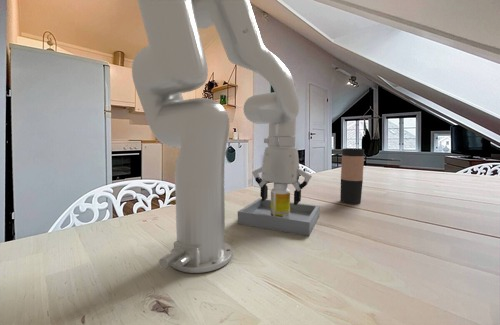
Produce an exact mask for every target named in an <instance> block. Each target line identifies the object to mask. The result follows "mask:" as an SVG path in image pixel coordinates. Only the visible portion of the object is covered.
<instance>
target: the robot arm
mask: <svg viewBox="0 0 500 325" xmlns="http://www.w3.org/2000/svg"><path fill="white" fill-rule="evenodd" d="M137 3H138V8H139V11H140V15H141V20H142V22H143V23H142V24H143V27H144V30H145V34H146V36H147V42H148V45H146V46H144V47H143V48H141V49H140V50H138V52H137V53H136V54H135V55H134V57H133V61H132V65H131V76H132V82H133V85H134V87H135V91H136V94H137V96H138V98H139V99H138V100H139V102H140V105H141V107H142V109H143V110H142V111H143V112H144V116H145V118H146V121H147V124H148V126H149V128H150V131H151V132H152V135H153V136H154V137H155V139H156V140H157V141H158V142H159V143H161V144H163V145H164V146H167V147H171V148H179V152H178V155H177V159H176V161H175V167H174V187H175V189H174V190H175V191H174V192H175V215H176V216H175V220H176V221H175V222H176V223H175V224H176V225H175V226H176V227H175V228H176V230H175V231H176V241H174V242H173V248H172V249H171V251H170V252H169V253H167V254H166V255H164V256H162V257H160V258H159V260H158V263H159V267H160V268H162V269H164V270H165V269H168V268H169V267H172V268H173V269H175V270H177V271H180V272H183V273H190V274H201V273H202V274H203V273H208V272H213V271H215V270H218V269H220V268H222V267H224V266H227V264H228V263H230V261H231V260H232V257H233V248H232V247H231V245H230V244H229V243H227V242H226V240H225V239H226V237H225V233H226V229H225V228H226V224H225V220H226V219H225V218H226V216H225V215H226V214H225V211H226V210H225V209H226V208H225V199H226V198H225V196H226V195H225V160H226V150H227V145H228V144H227V143H228V140H229V133H230V118H229V117H230V116H229V115H228V112H227V110H226V108H225V107H224V106H223V105H222V104H221V103H219V102H218V101H216V100H215V99H211V98H208V97H207V98H205V97H198V98H190V99H184V97H183V94H184V93H190V92H193V91H195V90H198V89H199V88H201V87H203V86H204V85H205V83H206V82H207V80H208V75H209V73H208V72H209V71H208V70H209V69H208V63H207V58H206V54H205V51H204V47H203V43H202V39H201V35H200V31H199V29H201V30H204V29H208V28H210V27H213V26H214V27H215V30H216V33H217V34H218V37H219V39H220V41H221V44H222V47H223V49H224V52H225V54H226V57H227V59H228V60H229V62H230V63H232V64H234V65H236V66H238V67H242V68H244V69H246V70H249V71H252V72H254V73H256V74H259V75H260V76H261V77H263V78H264V79H265V80H266V81H267V82H268V83H269V84H270V86H271V87H272V89H273V91H274V92H268V93H259V94H255V95H251V96H250V97H248V98H247V99H246V101H245V102H244V104H243V113H244V116H245V118H246V119H247V120H248V121H249V122H251V123H253V124H257V125H262V124H264V125H265V124H268V136H267V138H264V139H263V143H264V144H267V146H268V147H266V146H265V147H264V152H263V158H262V166H261V167H259V168H257V169H255V170H253V171H252V175H253V178H254V179H255V183H257V185H258V186H259V187H260V198H261V199H262V201H264V200H266V199H268V187H269V186H268V183H272V184H274V183H282V184H288V185H292V186H293V188H294V189H295V190H294V191H293V203H294V205H297V204H298V203H301V200H302V199H301V198H302V190H303V189H304V188H305V187H306V186H307V185H308V184H309V183H310V180H311V179H312V175H311V174H310V173H308V172H306V171H305V170H303V169H301V168H300V160H299V151H298V148H297V147H296V131H297V130H296V129H297V128H296V126H297V116H298V114H299V111H300V100H299V97H298V96H299V95H298V92H297V89H296V85H295V81H294V78H293V75H292V74H291V72H290V70H289V69H288V67H287V66H286V65H285V64H284V63H283V62H282V60H280V58H279V57H278V56H276V55H275V54H274V53H273V52H272V51H270V50H269V49H268V48H267V47H266V46H265V45H264V41H263V39H262V37H261V32H260V30H259V28H258V24H257V21H256V17H255V14H254V11H253V8H252V5H251V3H250V0H137ZM260 173H261V176H260ZM300 176H302V177H303V178H304V179H303V181H302V182H301V183H300V181H299V179H300Z"/></svg>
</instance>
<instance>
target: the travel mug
mask: <svg viewBox="0 0 500 325" xmlns="http://www.w3.org/2000/svg"><path fill="white" fill-rule="evenodd" d="M364 161H365V149H364V148H350V147H349V148H348V147H347V148H346V147H345V148H342V153H341V167H340V169H341V170H340V195H339V196H340V197H339V198H340V202H341V203H344V204H347V205H348V204H349V205H359V204H361V202H362V194H363V192H362V191H363V184H364V182H363V181H364V164H365V162H364Z"/></svg>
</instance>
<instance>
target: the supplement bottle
mask: <svg viewBox="0 0 500 325" xmlns="http://www.w3.org/2000/svg"><path fill="white" fill-rule="evenodd" d="M288 185H289V184H282V183H273V188H272V189H271V190H270V200H271V215H272V216H279V217H285V218H288V217H289V216H290V202H291V190H290V189H289V188H288Z"/></svg>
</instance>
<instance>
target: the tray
mask: <svg viewBox="0 0 500 325" xmlns="http://www.w3.org/2000/svg"><path fill="white" fill-rule="evenodd" d="M320 207H321V206H320V205H316V204H308V203H301V202H299V203H298V204H297V205H294V201H290V216H289V217H288V218H285V217H279V216H272V215H271V199H269V198H267V199H266V200H264V201H262V198H261V197H260V198H257V199H256V200H254V201H253V202H251V203H250V204H248V205H245V206H244V207H243V208H241V209H240V210H238V211H237V224H238V225H243V226H251V227H254V228H260V229H266V230H272V231H278V232H284V233H288V234H295V235H301V236H307V237H310V235H311V234H312V231H313V230H314V228H315V226H316V224H317V222H318V220H319V218H320V209H321V208H320Z"/></svg>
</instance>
